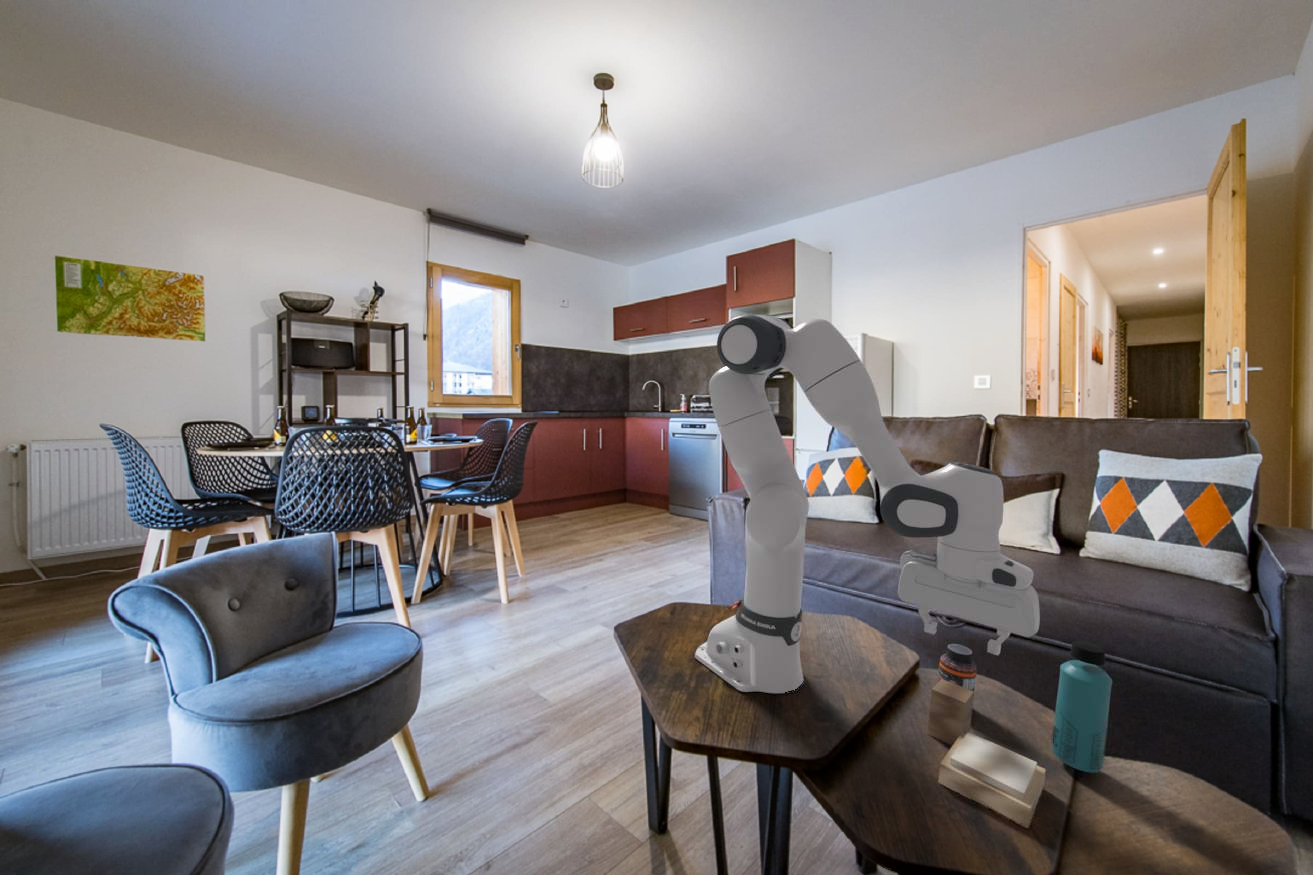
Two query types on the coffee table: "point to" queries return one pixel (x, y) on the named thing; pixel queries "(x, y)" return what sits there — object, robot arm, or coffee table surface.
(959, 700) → the walnut block
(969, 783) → the pedestal
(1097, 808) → the coffee table surface
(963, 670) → the supplement bottle
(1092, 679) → the beverage bottle
